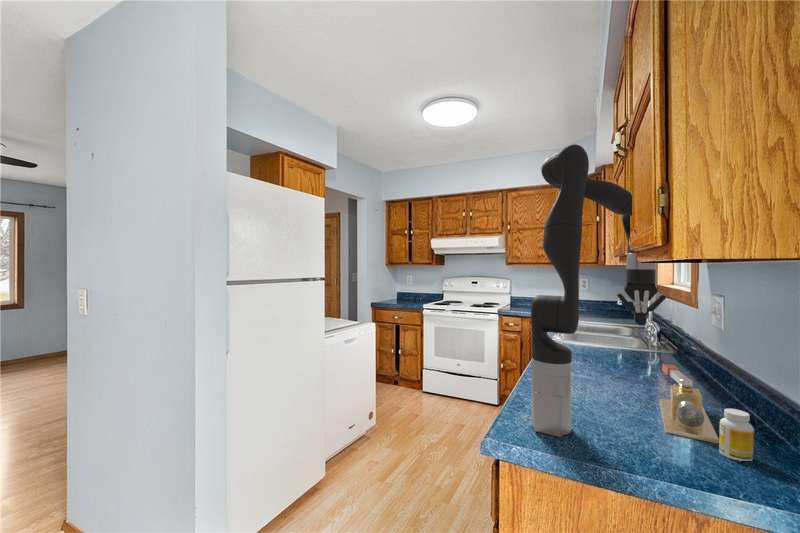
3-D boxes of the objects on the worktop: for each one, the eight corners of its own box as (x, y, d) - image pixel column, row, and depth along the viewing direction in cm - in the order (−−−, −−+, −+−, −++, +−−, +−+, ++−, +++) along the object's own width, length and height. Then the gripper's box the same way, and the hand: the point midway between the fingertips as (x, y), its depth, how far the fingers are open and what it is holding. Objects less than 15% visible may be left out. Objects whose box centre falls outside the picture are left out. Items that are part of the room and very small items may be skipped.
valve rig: (719, 443, 83) (719, 406, 83) (665, 432, 88) (665, 397, 88) (702, 409, 103) (702, 378, 103) (659, 401, 108) (659, 372, 108)
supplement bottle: (712, 451, 80) (713, 408, 79) (730, 448, 81) (731, 405, 81) (741, 464, 74) (741, 418, 74) (759, 461, 76) (760, 415, 76)
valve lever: (694, 389, 94) (694, 381, 94) (681, 387, 95) (681, 379, 95) (673, 372, 109) (673, 364, 109) (662, 371, 110) (662, 363, 110)
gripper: (617, 267, 109) (616, 324, 109) (670, 268, 104) (669, 328, 104) (614, 268, 116) (613, 321, 116) (664, 268, 110) (663, 325, 110)
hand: (640, 324), depth 110 cm, fingers closed
